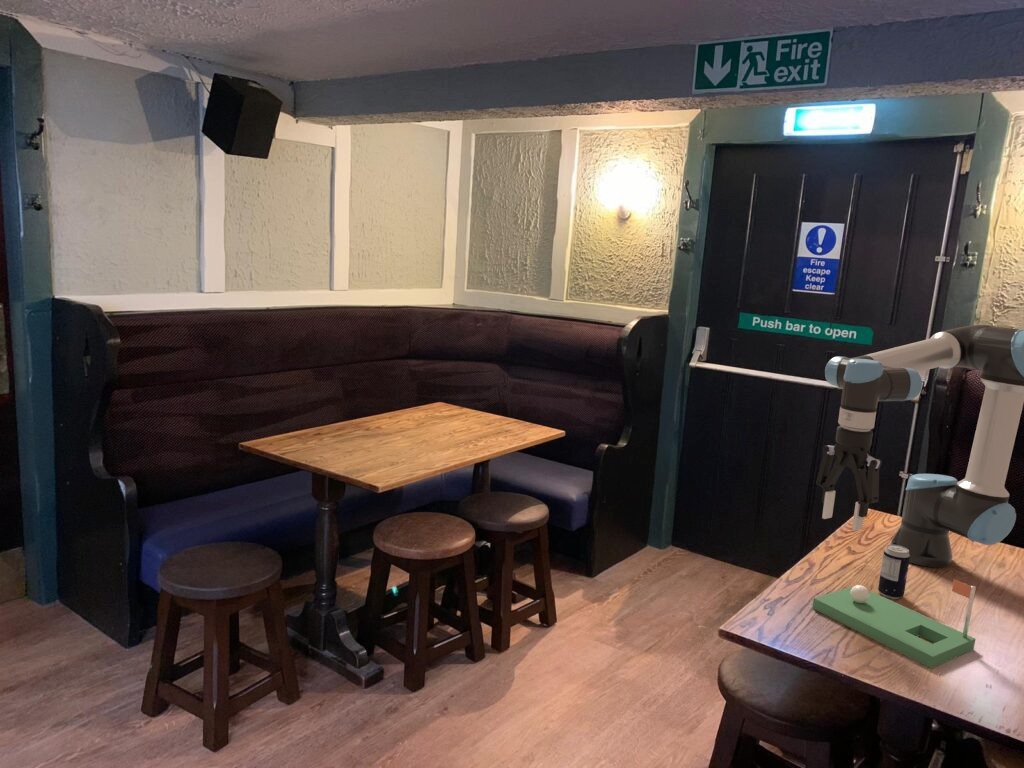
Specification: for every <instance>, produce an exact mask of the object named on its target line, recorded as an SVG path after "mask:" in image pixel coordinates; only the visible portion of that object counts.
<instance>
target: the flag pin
mask: <svg viewBox="0 0 1024 768" xmlns="http://www.w3.org/2000/svg"><path fill="white" fill-rule="evenodd" d="M951 587H952V589H951V591H952V592H953V593H954V594H957V595H959V596H963V597H965V598H967V599H968V603H967V609H966V615H965V620H964V626H963V631H962V633H963V636H962V637H964V638H967V635H968V632H969V626H970V621H971V618H972V617H971V616H972V611H973V604H974V600H975V595H976V594H975V593H976V588H977V586H975V585H970V584H968V583H965V582H963V581H960V580H958V579H953V581H952V586H951Z"/></svg>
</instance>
